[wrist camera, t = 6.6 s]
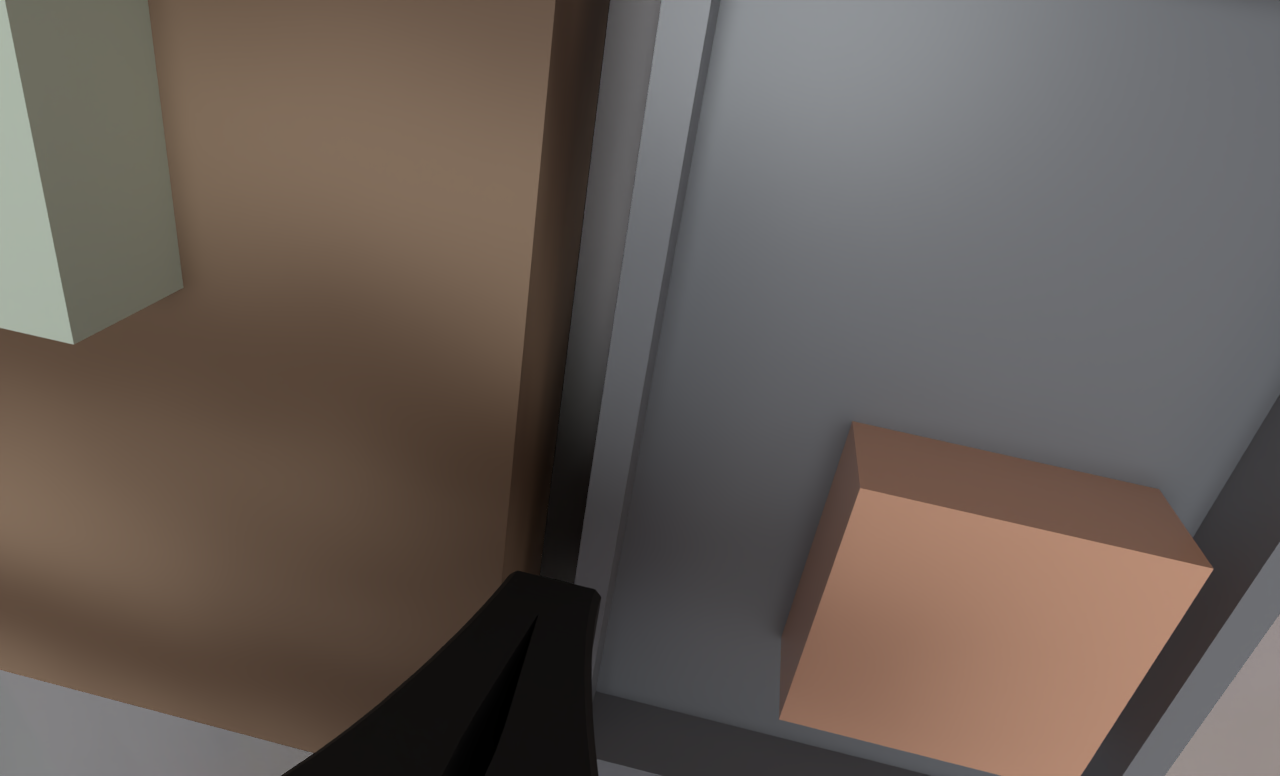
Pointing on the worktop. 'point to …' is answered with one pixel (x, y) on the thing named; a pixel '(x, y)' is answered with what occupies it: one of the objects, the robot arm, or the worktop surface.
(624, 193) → the worktop surface
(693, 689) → the box
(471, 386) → the walnut plate
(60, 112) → the sage tile
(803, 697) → the terracotta tile
